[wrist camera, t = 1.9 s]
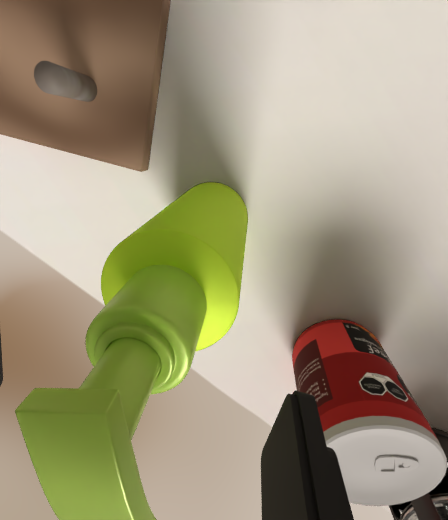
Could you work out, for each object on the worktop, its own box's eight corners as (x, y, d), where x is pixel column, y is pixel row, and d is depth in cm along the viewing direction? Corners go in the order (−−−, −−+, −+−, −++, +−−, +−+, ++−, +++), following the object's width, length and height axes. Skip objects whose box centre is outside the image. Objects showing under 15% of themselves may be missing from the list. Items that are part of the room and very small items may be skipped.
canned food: (388, 366, 28) (462, 495, 18) (308, 390, 30) (335, 517, 20) (362, 303, 26) (430, 410, 16) (278, 333, 28) (290, 444, 18)
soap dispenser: (184, 263, 26) (12, 562, 8) (172, 184, 24) (-129, 351, 5) (250, 261, 25) (233, 585, 7) (245, 179, 23) (200, 351, 4)
